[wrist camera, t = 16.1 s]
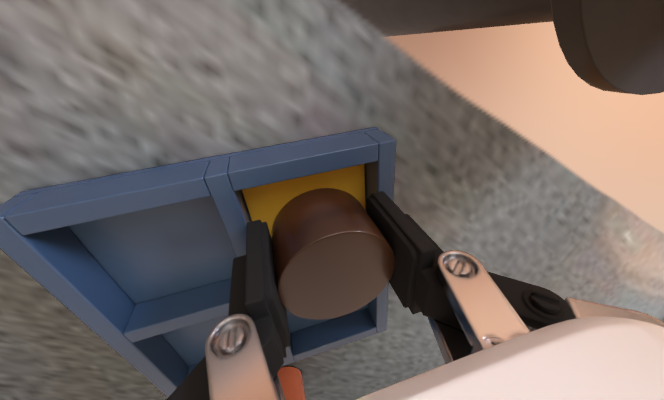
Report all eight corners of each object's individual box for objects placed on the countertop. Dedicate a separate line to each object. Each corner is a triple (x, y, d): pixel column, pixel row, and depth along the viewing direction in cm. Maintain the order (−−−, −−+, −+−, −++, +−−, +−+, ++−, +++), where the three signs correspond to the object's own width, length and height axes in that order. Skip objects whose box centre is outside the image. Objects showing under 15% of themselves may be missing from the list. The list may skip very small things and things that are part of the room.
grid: (376, 126, 12) (397, 139, 10) (375, 306, 19) (386, 330, 17) (20, 191, 9) (-32, 223, 7) (182, 369, 17) (175, 404, 15)
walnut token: (364, 177, 10) (399, 217, 8) (366, 252, 13) (392, 300, 10) (259, 200, 10) (262, 252, 7) (282, 275, 12) (290, 333, 10)
